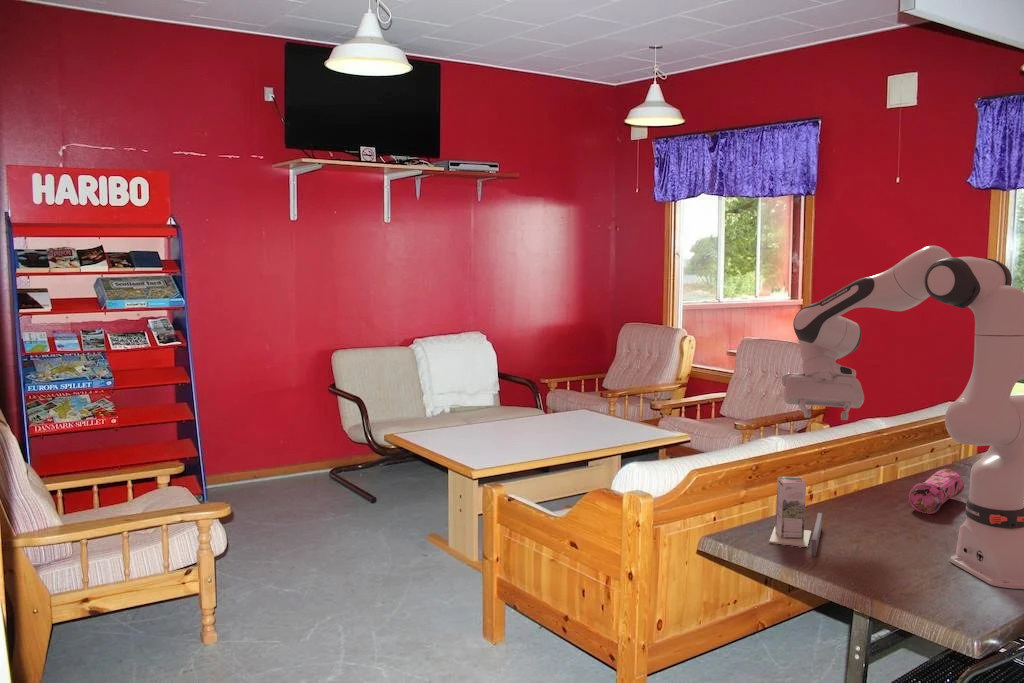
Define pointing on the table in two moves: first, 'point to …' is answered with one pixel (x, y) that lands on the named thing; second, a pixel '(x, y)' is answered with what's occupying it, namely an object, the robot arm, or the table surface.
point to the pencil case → (935, 491)
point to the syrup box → (790, 507)
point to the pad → (791, 539)
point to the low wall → (816, 534)
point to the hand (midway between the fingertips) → (826, 417)
